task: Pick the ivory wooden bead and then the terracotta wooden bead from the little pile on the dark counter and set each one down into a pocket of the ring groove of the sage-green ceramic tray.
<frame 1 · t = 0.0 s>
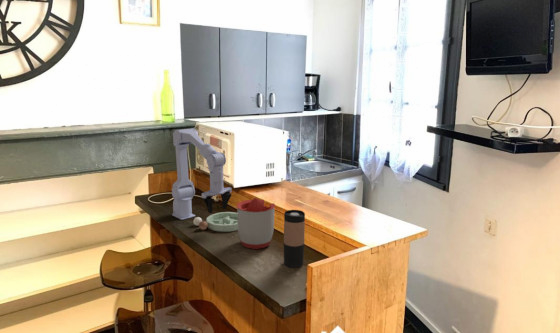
hand: (217, 210, 179), 10 cm above the worktop, fingers open, 7 cm apart
citrus juicer: (257, 243, 170), on the worktop
tray: (226, 224, 190), on the worktop
ivory bead: (197, 225, 189), on the worktop
terracotta bead: (203, 229, 184), on the worktop
travel mug: (293, 264, 152), on the worktop
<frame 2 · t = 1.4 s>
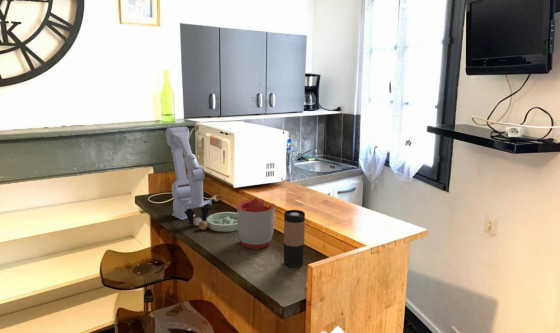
hand: (197, 222, 188), 2 cm above the worktop, fingers open, 6 cm apart
nothing on the worktop moved.
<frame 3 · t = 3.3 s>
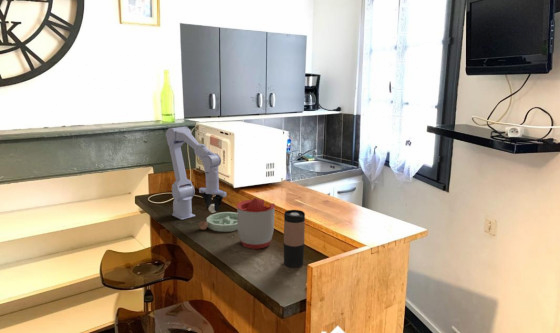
hand: (213, 209, 185), 8 cm above the worktop, fingers closed on ivory bead, 4 cm apart
ivory bead: (213, 212, 186), point 7 cm above the worktop, touching gripper
everything else where it was.
when the fingers open (4 cm above the worktop, at t = 4.6 s): ivory bead drops 2 cm, resting on tray.
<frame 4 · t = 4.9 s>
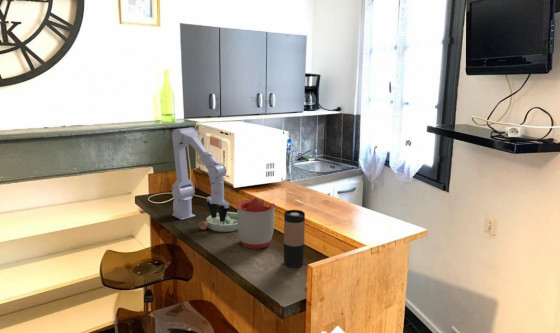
hand: (218, 219, 186), 4 cm above the worktop, fingers open, 6 cm apart
ivory bead: (218, 225, 187), point 1 cm above the worktop, touching tray
everything else where it was.
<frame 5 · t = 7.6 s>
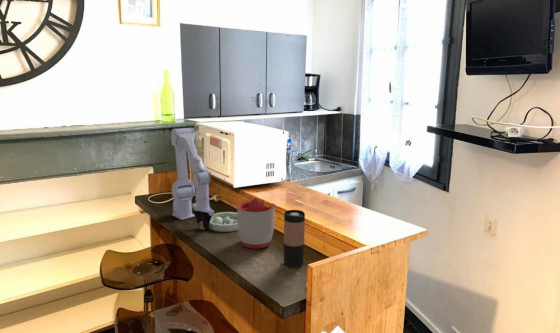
hand: (203, 226, 183), 1 cm above the worktop, fingers closed on terracotta bead, 4 cm apart
terracotta bead: (203, 229, 184), on the worktop, touching gripper
everything else where it was.
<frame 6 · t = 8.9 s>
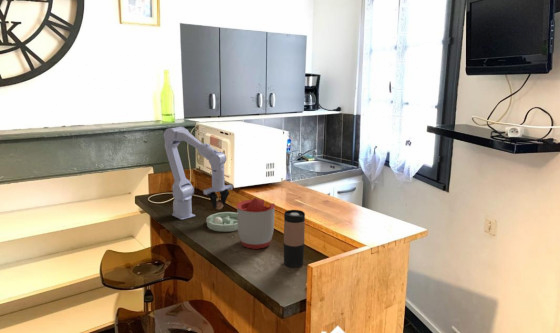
hand: (218, 206, 191), 8 cm above the worktop, fingers closed on terracotta bead, 4 cm apart
terracotta bead: (218, 209, 191), point 7 cm above the worktop, touching gripper
everything else where it was.
when the fingers open (4 cm above the worktop, at t = 10.2 s): terracotta bead drops 1 cm, resting on tray.
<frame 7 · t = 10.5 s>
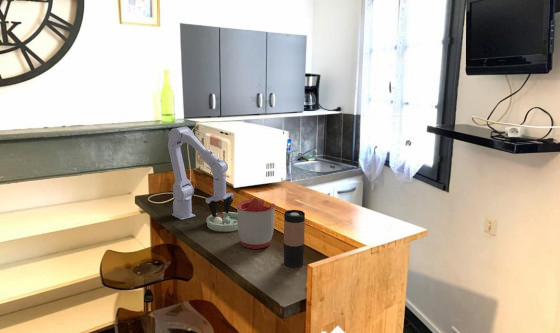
hand: (220, 214, 193), 4 cm above the worktop, fingers open, 7 cm apart
terracotta bead: (220, 220, 193), point 1 cm above the worktop, touching tray
everything else where it was.
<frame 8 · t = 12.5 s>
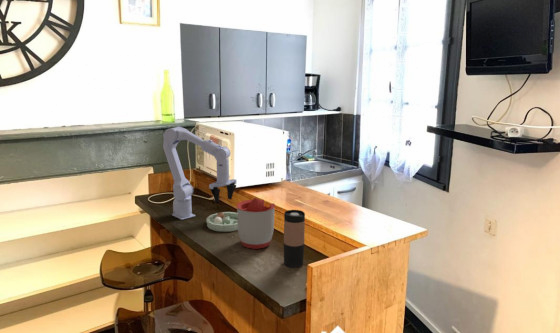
hand: (223, 200, 194), 10 cm above the worktop, fingers open, 7 cm apart
nothing on the worktop moved.
at the end: ivory bead 0.1 cm from the target spot on the tray, point 0.8 cm above the tray's base; terracotta bead 0.1 cm from the target spot on the tray, point 0.8 cm above the tray's base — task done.
